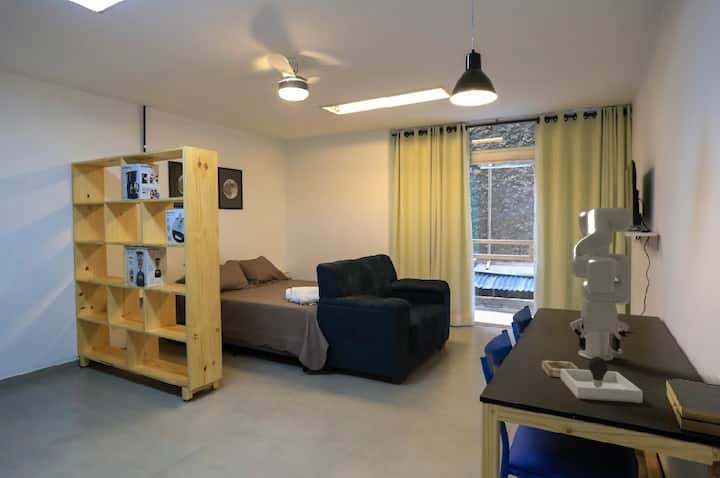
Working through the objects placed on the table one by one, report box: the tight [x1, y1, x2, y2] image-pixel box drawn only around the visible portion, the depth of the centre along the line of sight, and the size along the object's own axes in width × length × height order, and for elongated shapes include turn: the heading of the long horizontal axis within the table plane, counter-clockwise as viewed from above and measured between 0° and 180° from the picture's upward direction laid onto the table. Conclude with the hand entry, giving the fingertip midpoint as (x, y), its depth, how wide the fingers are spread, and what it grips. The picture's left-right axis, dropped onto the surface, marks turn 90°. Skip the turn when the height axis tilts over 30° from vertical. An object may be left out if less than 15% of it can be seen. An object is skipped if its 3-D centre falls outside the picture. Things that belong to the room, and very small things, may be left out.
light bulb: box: [587, 357, 609, 387], centre depth 137 cm, size 6×6×10 cm
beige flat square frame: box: [541, 359, 580, 378], centre depth 153 cm, size 10×10×2 cm
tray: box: [559, 368, 644, 404], centre depth 136 cm, size 18×18×4 cm
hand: (598, 349), depth 137 cm, fingers open, 9 cm apart
